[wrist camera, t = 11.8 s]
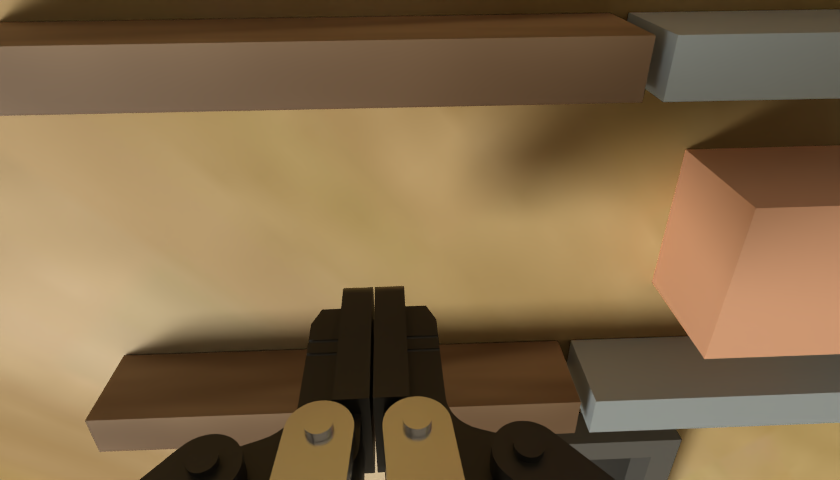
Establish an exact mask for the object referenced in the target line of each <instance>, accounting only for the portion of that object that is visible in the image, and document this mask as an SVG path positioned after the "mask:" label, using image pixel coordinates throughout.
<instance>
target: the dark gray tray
mask: <svg viewBox="0 0 840 480" xmlns="http://www.w3.org/2000/svg"><path fill="white" fill-rule="evenodd" d="M556 435H558V436H559V437H560V438H562V439H563V440H564V441H565V442H567V443H568V444H569V445H571V446H572V447H573V448H575V449H576V450H577V451H579V452H580V453H581V454H583V455H584V456H585V457H586V458H588V459H589V460H590V461H592V462H593V463H594V464H596V465H597V466H598V467H600V468H601V469H602V470H603V471H605V472H606V473H607V474H609V475H610V476H611V477H613V478H614V479H615V480H667V479H668V476H669V474H670V471H671V468H672V465H673V462H674V460H675V457H676V454H677V451H678V448H679V446H680V443H681V438H680V436H679V434H678V432H677V430H676V429H664V430H638V431H613V432H589V430H588V428H587V425H586V422H585V420H584V417H583V414H582V413H579V415H578V420H577V425H576V430H575V433H562V434H556Z"/></svg>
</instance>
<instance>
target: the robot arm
mask: <svg viewBox="0 0 840 480" xmlns="http://www.w3.org/2000/svg"><path fill="white" fill-rule="evenodd" d="M375 437H376V452H377V467H378V472H385V480H615V479H614V478H613V477H611V476H610V475H609V474H607V473H606V472H605V471H603V470H602V469H601V468H600V467H598V466H597V465H596V464H594V463H593V462H592V461H590V460H589V459H588V458H586V457H585V456H584V455H583V454H581V453H580V452H579V451H577V450H576V449H575V448H573V447H572V446H571V445H569V444H568V443H567V442H565V441H564V440H563V439H562V438H560V437H559V436H558V435H556V434H555V433H554V432H552V431H551V430H550V429H548V428H547V427H545V426H543V425H541V424H538V423H535V422H530V421H515V422H511V423H508V424H506V425H504V426H503V427H501V428H500V429H499V430H498V431H497V432H496V433H495V432H491V431H487V430H483V429H479V428H475V427H472V426H470V425H468V424H466V423H464V422H462V421H461V420H459V419H458V418H457V417H456V416H455V415H454V414H453V413H452V411H451V410H450V408H449V407H448V404H447V401H446V396H445V388H444V380H443V372H442V363H441V355H440V347H439V339H438V331H437V323H436V319H435V317H434V316H433V315H432V313H431V312H430V311H429V309H428V308H427V307H426V306H406V307H405V295H404V286H393V287H375V311H374V294H373V287H368V288H344V289H343V296H342V306H341V309H328V310H322V311H321V312H320V314H319V315H318V316H317V317H316V319H315V320H314V321H313V323H312V324H311V330H310V336H309V343H308V348H307V357H306V360H305V366H304V372H303V378H302V384H301V390H300V396H299V402H298V407H297V410H296V411H295V412H293V413H292V414H291V416H290V417H289V418H288V420H287V421H286V423H285V426H284V427H283V428H282V429H281V430H280V431H278V432H277V433H275V434H273V435H271V436H269V437H266V438H264V439H261V440H258V441H255V442H252V443H249V444H246V445H243V446H240V445H239V444H238V442H237V441H235V440H234V439H233V438H231V437H229V436H226V435H222V434H209V435H204V436H200V437H197V438H195V439H192V440H191V441H189V442H187V443H185V444H184V445H183V446H181V447H180V448H179V449H177V450H176V451H175V452H174V453H172V454H171V455H170V456H169V457H167V458H166V459H165V460H164V461H162V462H161V463H160V464H159V465H157V466H156V467H155V468H154V469H152V470H151V471H150V472H149V473H147V474H146V475H145V476H144V477H142V478H141V479H140V480H364V473H375Z"/></svg>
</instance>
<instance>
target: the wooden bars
mask: <svg viewBox="0 0 840 480" xmlns="http://www.w3.org/2000/svg"><path fill="white" fill-rule="evenodd" d="M655 38H656V35H654V34H652V33H650V32H648V31H646V30H644V29H642V28H640V27H638V26H636V25H634V24H632V23H630V22H628V21H626V20H624V19H622V18H620V17H618V16H616V15H614V14H612V13H567V14H502V15H437V16H373V17H308V18H243V19H179V20H114V21H49V22H0V116H9V115H58V114H106V113H155V112H203V111H252V110H300V109H349V108H397V107H446V106H494V105H543V104H591V103H640V102H642V101H643V97H644V92H645V87H646V82H647V77H648V72H649V67H650V62H651V57H652V52H653V48H654V43H655ZM439 347H440V355H441V363H442V372H443V380H444V388H445V396H446V401H447V404H448V407H449V408H450V410H451V411H452V413H453V414H454V415H455V416H456V417H457V418H458V419H459V420H461V421H462V422H464V423H466V424H468V425H470V426H472V427H475V428H479V429H483V430H487V431H491V432H495V433H496V432H497V431H498V430H499V429H500V428H501V427H503V426H504V425H506V424H508V423H511V422H515V421H530V422H535V423H538V424H541V425H543V426H545V427H547V428H548V429H550V430H551V431H552V432H554V433H555V434H562V433H575V430H576V425H577V420H578V415H579V410H580V405H581V401H580V398H579V395H578V393H577V390H576V387H575V385H574V382H573V380H572V377H571V374H570V372H569V369H568V366H567V364H566V361H565V358H564V356H563V353H562V350H561V348H560V345H559V343H558V341H534V342H504V343H475V344H446V345H439ZM306 357H307V349H299V350H270V351H240V352H211V353H181V354H152V355H124V357H123V358H122V360H121V362H120V363H119V365H118V367H117V368H116V370H115V372H114V373H113V375H112V377H111V378H110V380H109V382H108V383H107V385H106V387H105V388H104V390H103V392H102V393H101V395H100V397H99V398H98V400H97V402H96V403H95V405H94V407H93V408H92V410H91V412H90V413H89V415H88V417H87V418H86V420H85V422H86V424H87V426H88V428H89V430H90V433H91V435H92V437H93V439H94V441H95V443H96V445H97V447H98V450H99V452H105V451H130V450H156V449H179V448H180V447H181V446H183V445H184V444H185V443H187V442H189V441H191V440H192V439H195V438H197V437H200V436H204V435H209V434H222V435H226V436H229V437H231V438H233V439H234V440H235V441H237V442H238V444H239V445H240V446H243V445H246V444H249V443H252V442H255V441H258V440H261V439H264V438H266V437H269V436H271V435H273V434H275V433H277V432H278V431H280V430H281V429H282V428H283V427H284V426H285V423H286V421H287V420H288V418H289V417H290V416H291V414H292V413H293V412H295V411H296V410H297V407H298V402H299V396H300V390H301V384H302V378H303V372H304V366H305V360H306ZM375 441H376V437H375Z"/></svg>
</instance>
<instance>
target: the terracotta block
mask: <svg viewBox="0 0 840 480" xmlns="http://www.w3.org/2000/svg"><path fill="white" fill-rule="evenodd" d="M652 283H653V285H654V286H655V287H656V289H657V290H658V292H659V293H660V295H661V296H662V298H663V299H664V301H665V302H666V304H667V305H668V306H669V308H670V309H671V311H672V312H673V314H674V315H675V317H676V318H677V320H678V321H679V323H680V324H681V326H682V327H683V328H684V330H685V331H686V333H687V334H688V336H689V337H690V339H691V340H692V342H693V343H694V345H695V346H696V347H697V349H698V350H699V352H700V353H701V355H702V356H703V358H704V359H719V358H746V357H774V356H801V355H829V354H840V145H829V146H792V147H756V148H719V149H686V150H685V154H684V158H683V162H682V166H681V170H680V174H679V178H678V182H677V186H676V189H675V193H674V197H673V201H672V205H671V209H670V213H669V217H668V221H667V225H666V229H665V233H664V237H663V241H662V245H661V249H660V253H659V257H658V261H657V265H656V269H655V273H654V277H653V281H652Z"/></svg>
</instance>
